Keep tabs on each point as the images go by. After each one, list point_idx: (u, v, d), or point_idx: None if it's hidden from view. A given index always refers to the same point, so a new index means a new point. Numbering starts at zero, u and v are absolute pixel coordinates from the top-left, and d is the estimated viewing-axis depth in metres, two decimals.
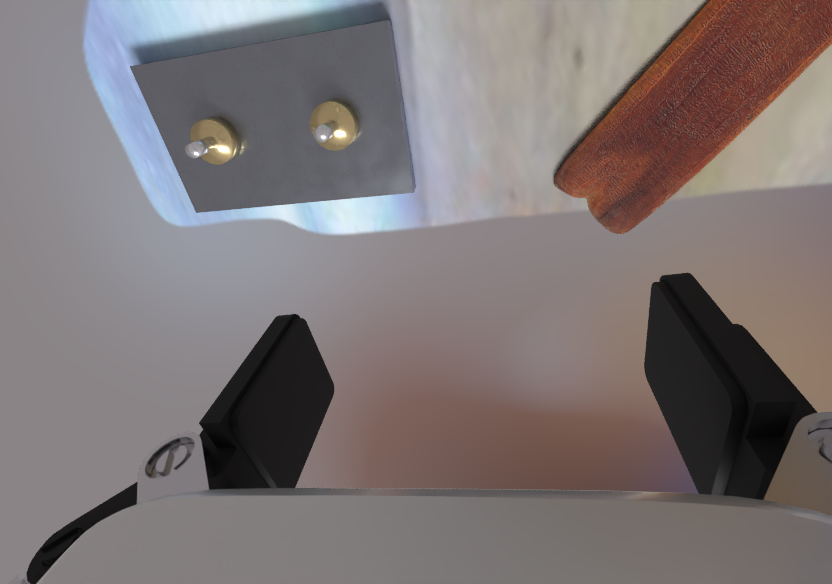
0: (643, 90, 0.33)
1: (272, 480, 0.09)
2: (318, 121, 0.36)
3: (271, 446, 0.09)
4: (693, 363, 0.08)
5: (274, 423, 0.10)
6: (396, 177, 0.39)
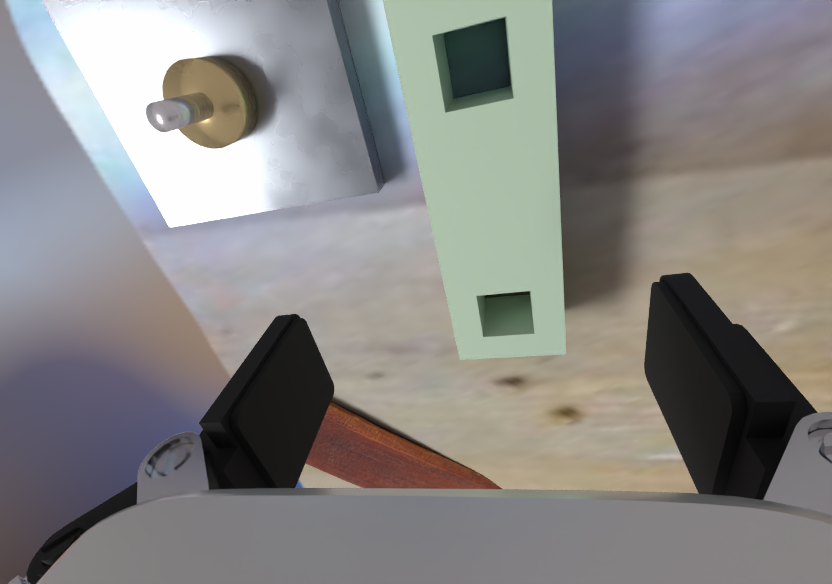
0: (355, 428, 0.34)
1: (272, 480, 0.09)
2: (201, 78, 0.19)
3: (271, 446, 0.09)
4: (693, 363, 0.08)
5: (274, 423, 0.10)
6: (178, 201, 0.25)
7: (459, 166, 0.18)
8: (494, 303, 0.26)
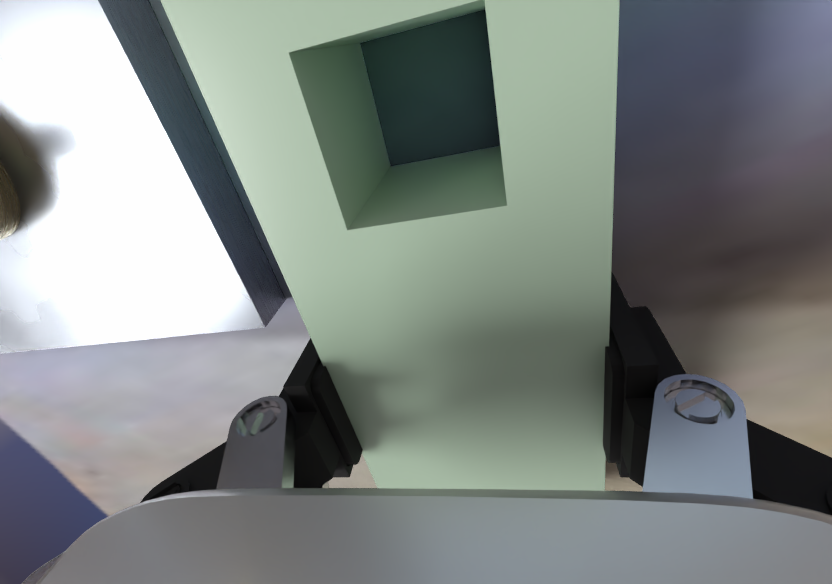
0: None
1: (344, 446, 0.10)
2: None
3: (343, 413, 0.10)
4: None
5: None
6: None
7: (391, 330, 0.08)
8: None
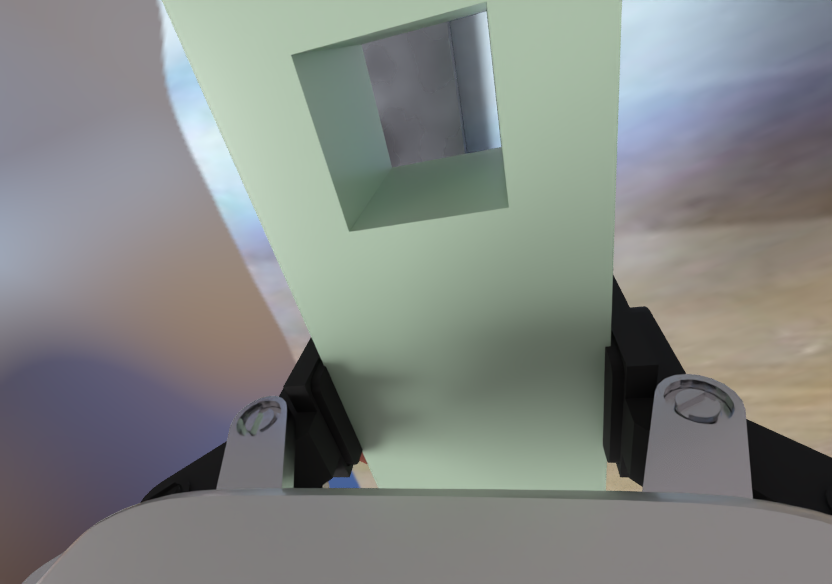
0: None
1: (344, 445, 0.10)
2: None
3: (343, 413, 0.10)
4: None
5: None
6: None
7: (393, 331, 0.08)
8: None
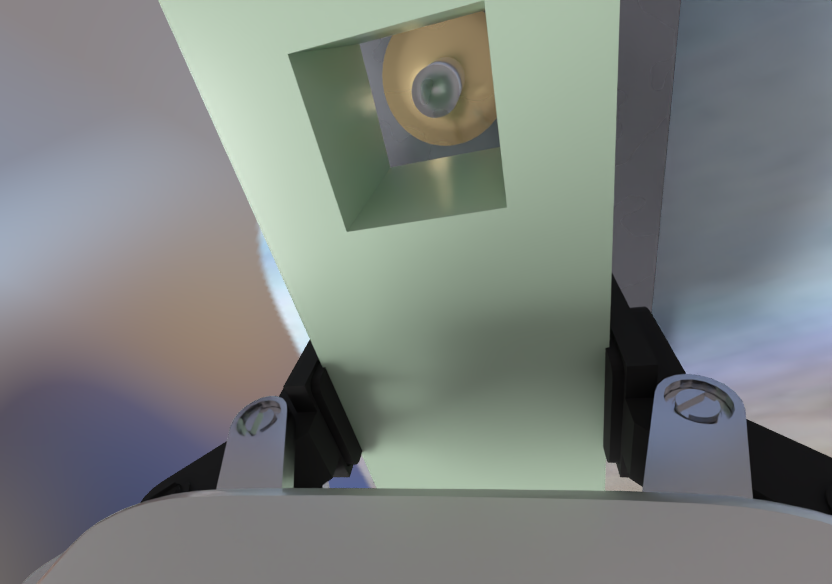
0: None
1: (344, 445, 0.10)
2: None
3: (343, 413, 0.10)
4: None
5: None
6: None
7: (391, 332, 0.08)
8: None
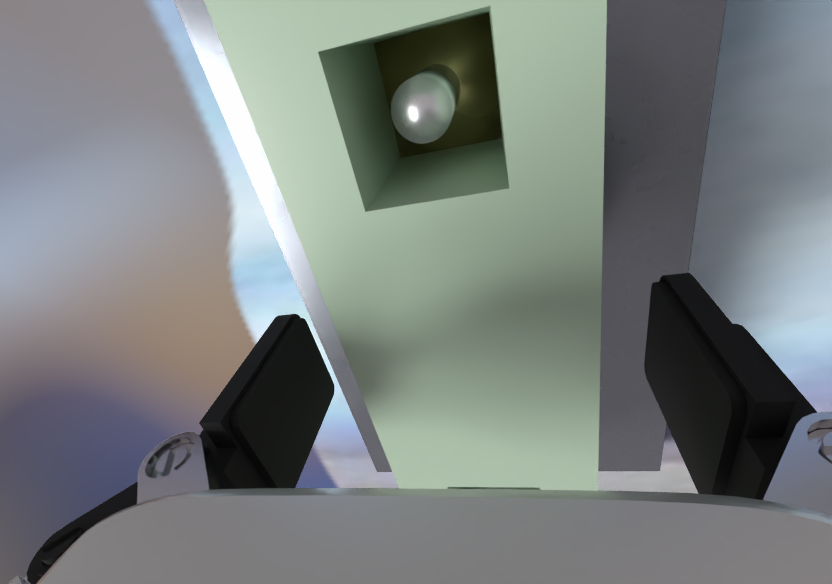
0: None
1: (272, 480, 0.09)
2: None
3: (271, 446, 0.09)
4: (693, 363, 0.08)
5: (274, 423, 0.10)
6: None
7: (404, 305, 0.09)
8: None
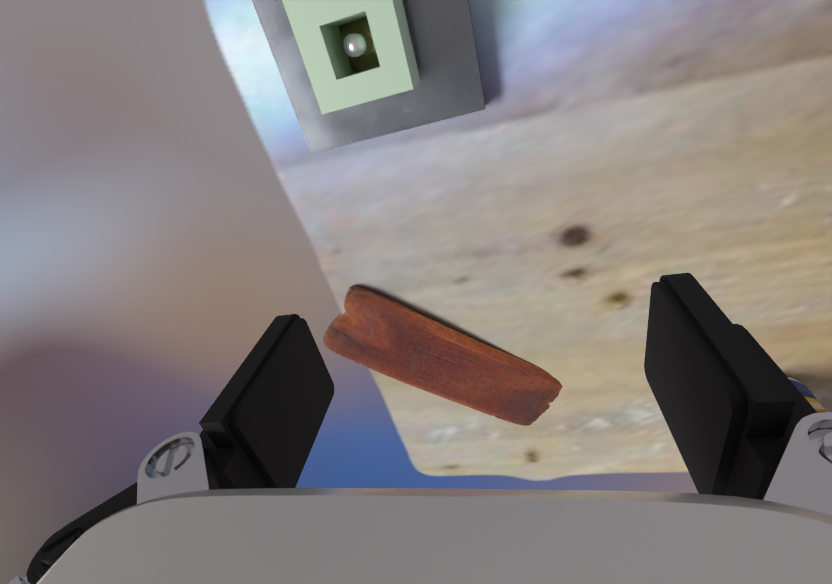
0: (436, 331, 0.42)
1: (272, 480, 0.09)
2: (367, 21, 0.26)
3: (271, 446, 0.09)
4: (693, 363, 0.08)
5: (274, 423, 0.10)
6: (322, 130, 0.32)
7: None
8: (358, 72, 0.27)
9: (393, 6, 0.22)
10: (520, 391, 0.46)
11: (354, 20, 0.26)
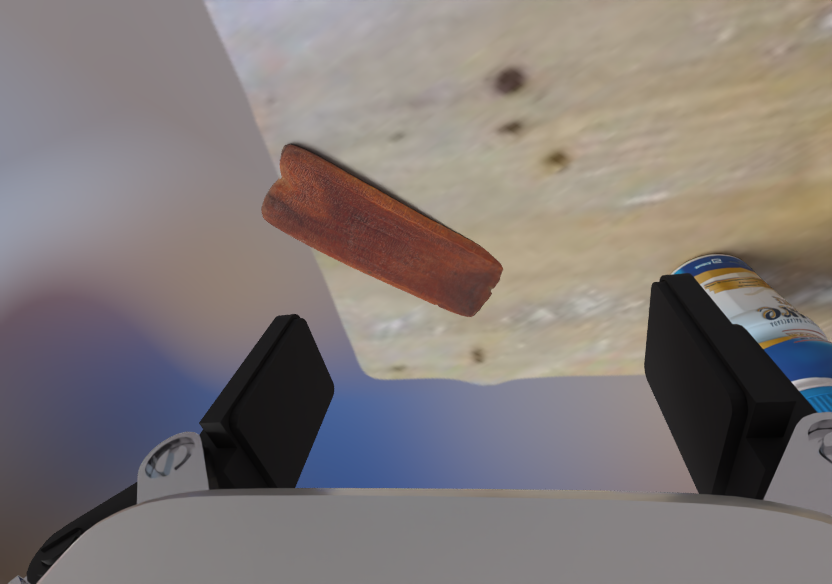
0: (372, 197, 0.41)
1: (272, 480, 0.09)
2: None
3: (271, 446, 0.09)
4: (693, 363, 0.08)
5: (274, 423, 0.10)
6: None
7: None
8: None
9: None
10: (461, 273, 0.44)
11: None
